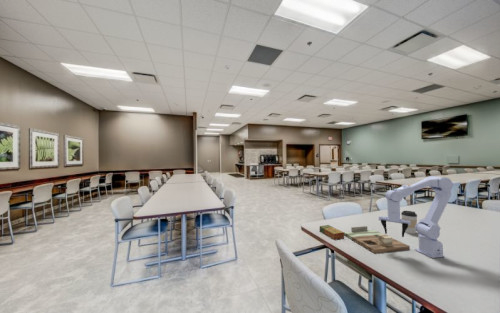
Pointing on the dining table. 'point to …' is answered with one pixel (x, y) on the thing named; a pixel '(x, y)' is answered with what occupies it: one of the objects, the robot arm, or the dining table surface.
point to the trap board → (373, 240)
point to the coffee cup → (413, 221)
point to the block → (385, 240)
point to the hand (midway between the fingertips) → (394, 234)
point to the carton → (332, 232)
